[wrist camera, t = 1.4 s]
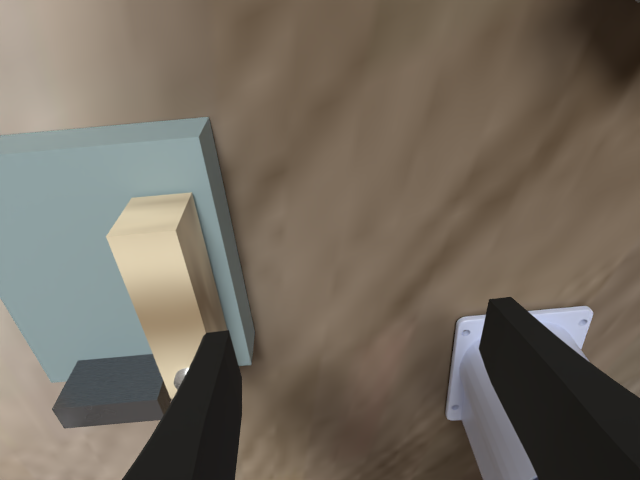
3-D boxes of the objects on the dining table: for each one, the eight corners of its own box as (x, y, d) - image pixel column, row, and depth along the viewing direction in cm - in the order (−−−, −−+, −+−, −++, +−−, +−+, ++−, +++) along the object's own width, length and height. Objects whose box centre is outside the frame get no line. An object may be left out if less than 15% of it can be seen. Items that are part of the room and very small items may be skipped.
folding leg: (231, 346, 23) (223, 399, 21) (183, 350, 23) (169, 404, 21) (191, 192, 19) (173, 234, 16) (131, 197, 19) (102, 241, 16)
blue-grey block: (254, 332, 27) (246, 412, 22) (70, 348, 27) (23, 431, 22) (208, 116, 20) (182, 168, 15) (-42, 139, 20) (-146, 197, 15)
